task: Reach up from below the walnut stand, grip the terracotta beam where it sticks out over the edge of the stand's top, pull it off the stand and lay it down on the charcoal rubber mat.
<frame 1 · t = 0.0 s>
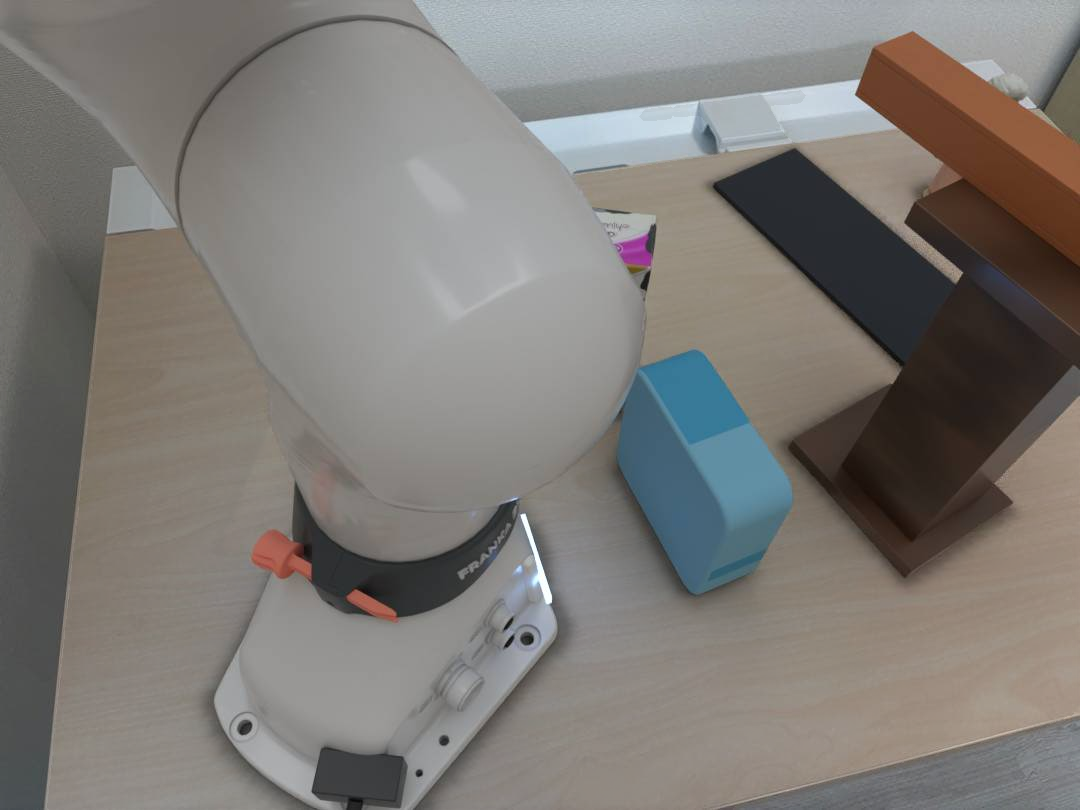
mat: (848, 254, 74), on the table
stand: (894, 478, 61), on the table
grandmother figurine: (947, 198, 78), on the table
terracotta beam: (1011, 190, 43), point 24 cm above the table, touching stand
candy bar box: (555, 384, 65), on the table
blue rounded case: (679, 517, 59), on the table
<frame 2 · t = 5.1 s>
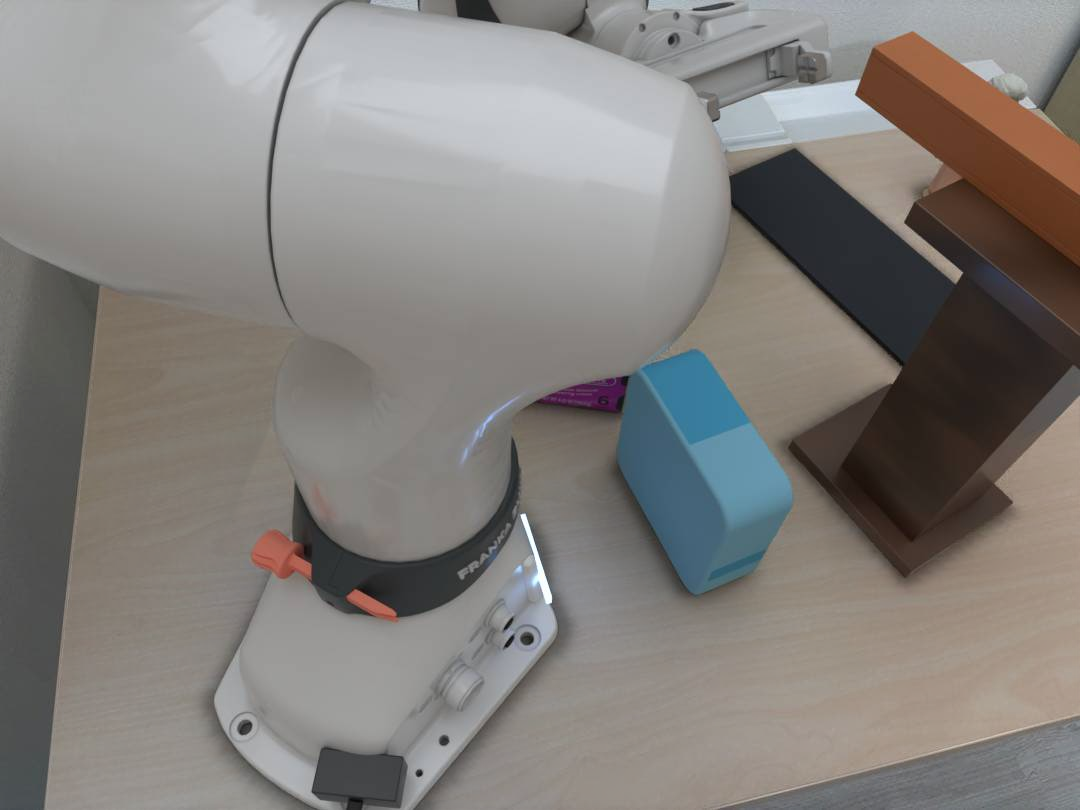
hand: (768, 89, 55), 19 cm above the table, tool pointing upward, fingers open, 8 cm apart
nothing on the table moved.
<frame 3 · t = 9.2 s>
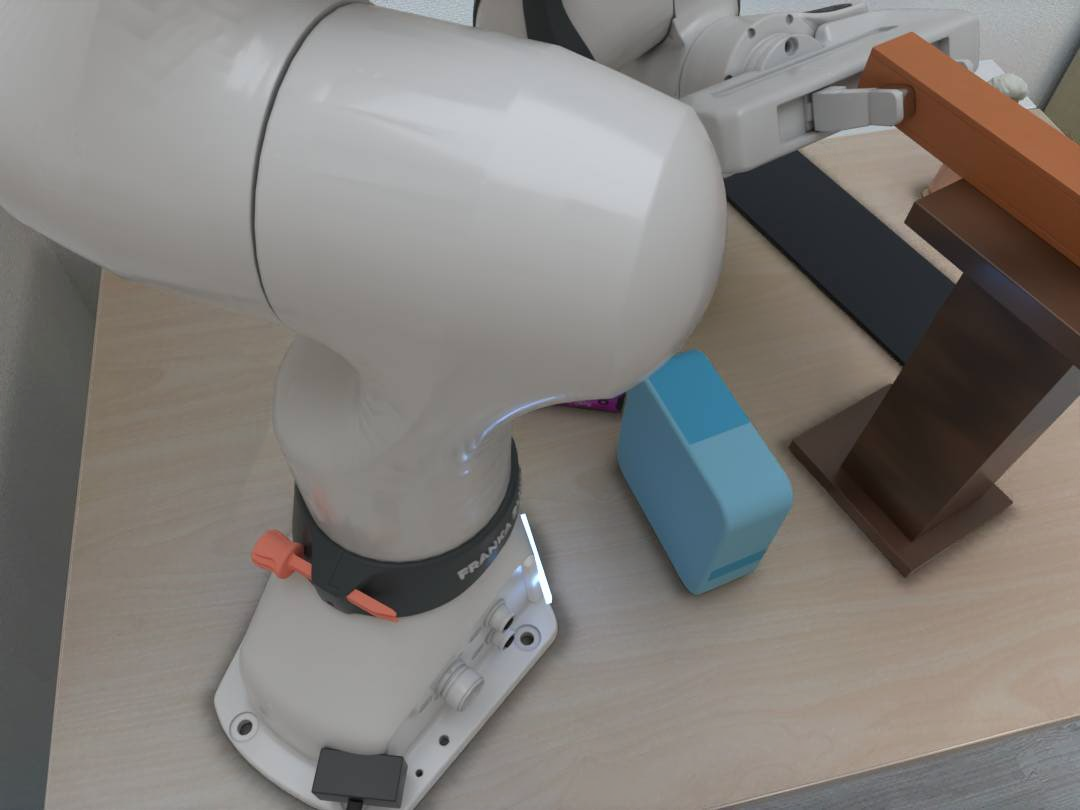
hand: (936, 92, 44), 26 cm above the table, tool pointing upward, fingers closed on terracotta beam, 3 cm apart
terracotta beam: (1011, 190, 43), point 24 cm above the table, touching gripper, stand
everything else where it was.
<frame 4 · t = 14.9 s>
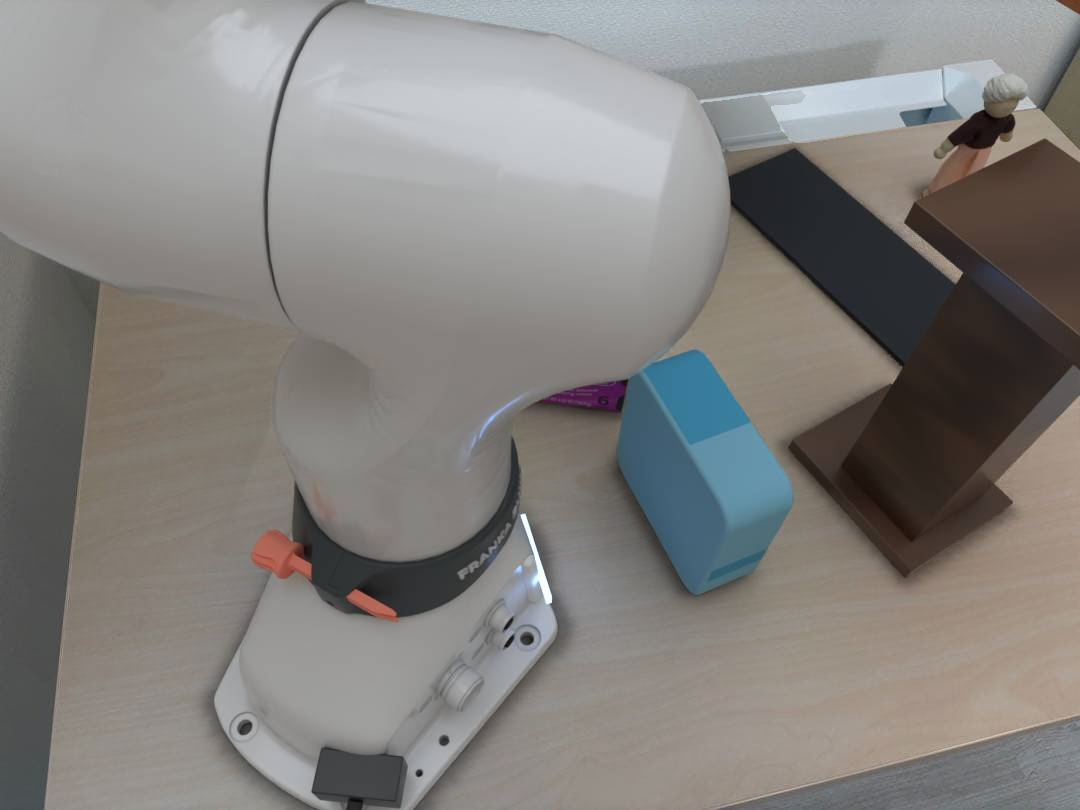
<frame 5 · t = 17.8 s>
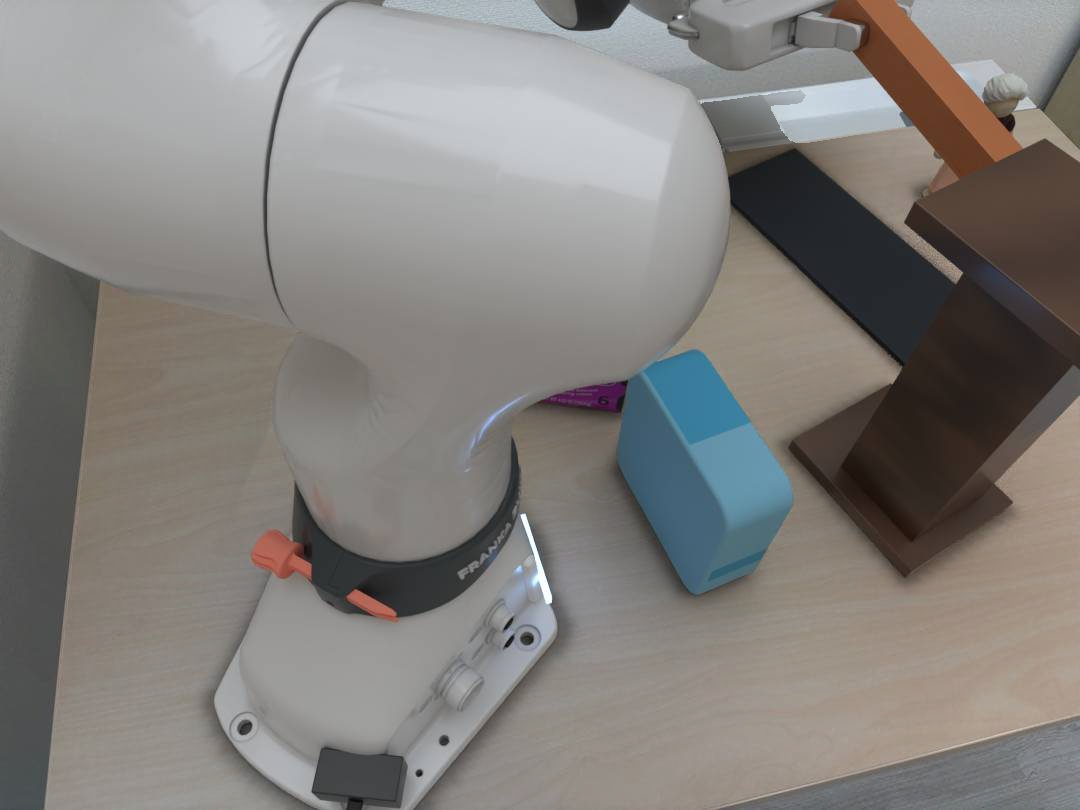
hand: (884, 30, 62), 18 cm above the table, tool pointing upward, fingers closed on terracotta beam, 3 cm apart
terracotta beam: (920, 110, 62), point 14 cm above the table, tilted 15°, touching gripper
everything else where it was.
when the fingers open (5 cm above the table, at t = 20.4 s): terracotta beam drops 2 cm, resting on mat.
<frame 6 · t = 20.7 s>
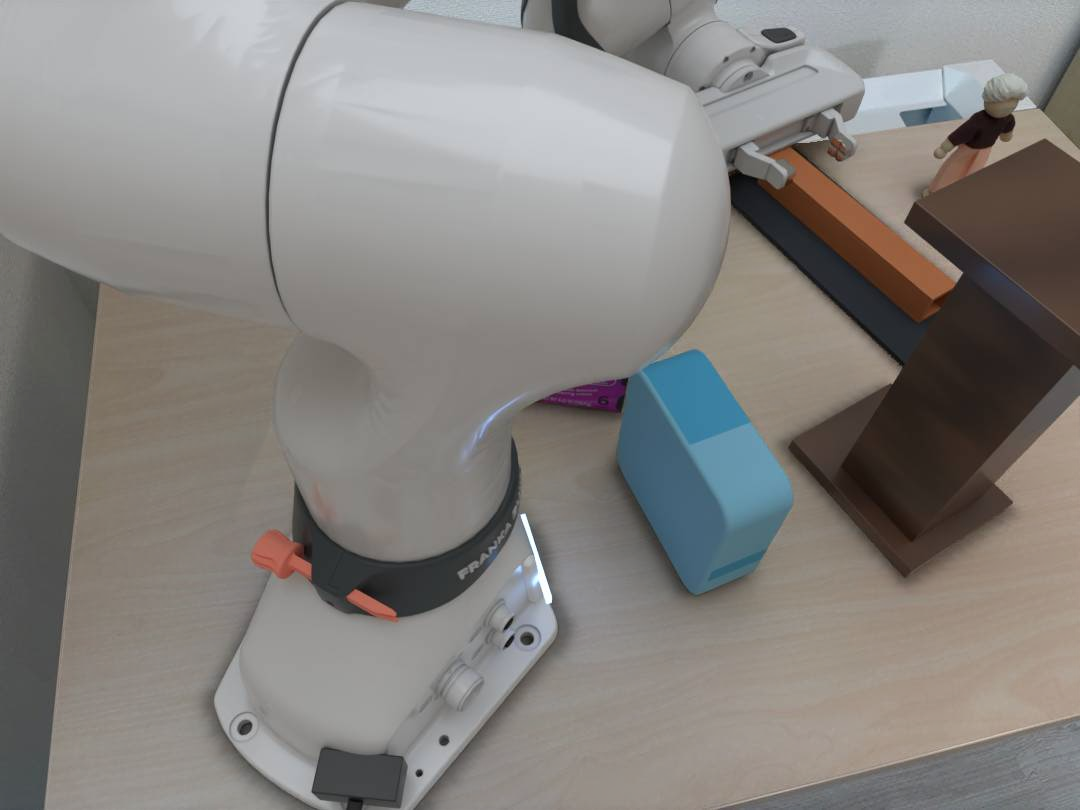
hand: (819, 166, 72), 5 cm above the table, tool horizontal, fingers open, 6 cm apart
terracotta beam: (844, 242, 74), resting on mat
everything else where it was.
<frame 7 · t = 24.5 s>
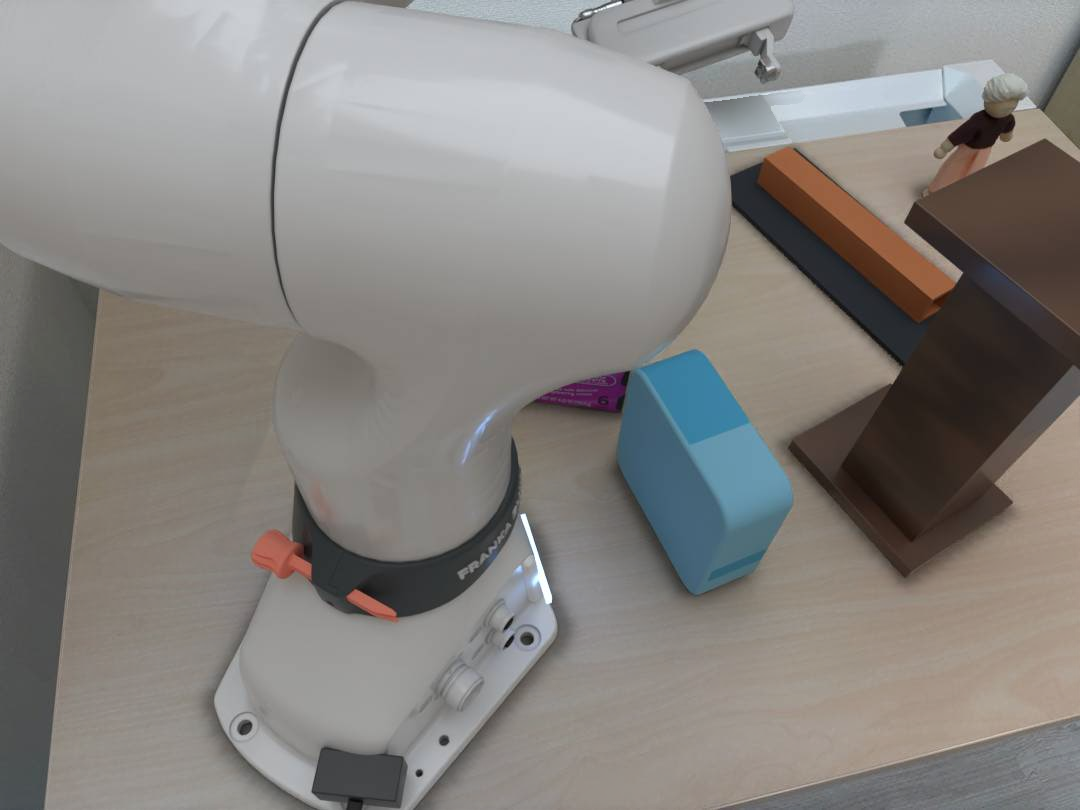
hand: (729, 93, 77), 6 cm above the table, tool horizontal, fingers open, 8 cm apart
nothing on the table moved.
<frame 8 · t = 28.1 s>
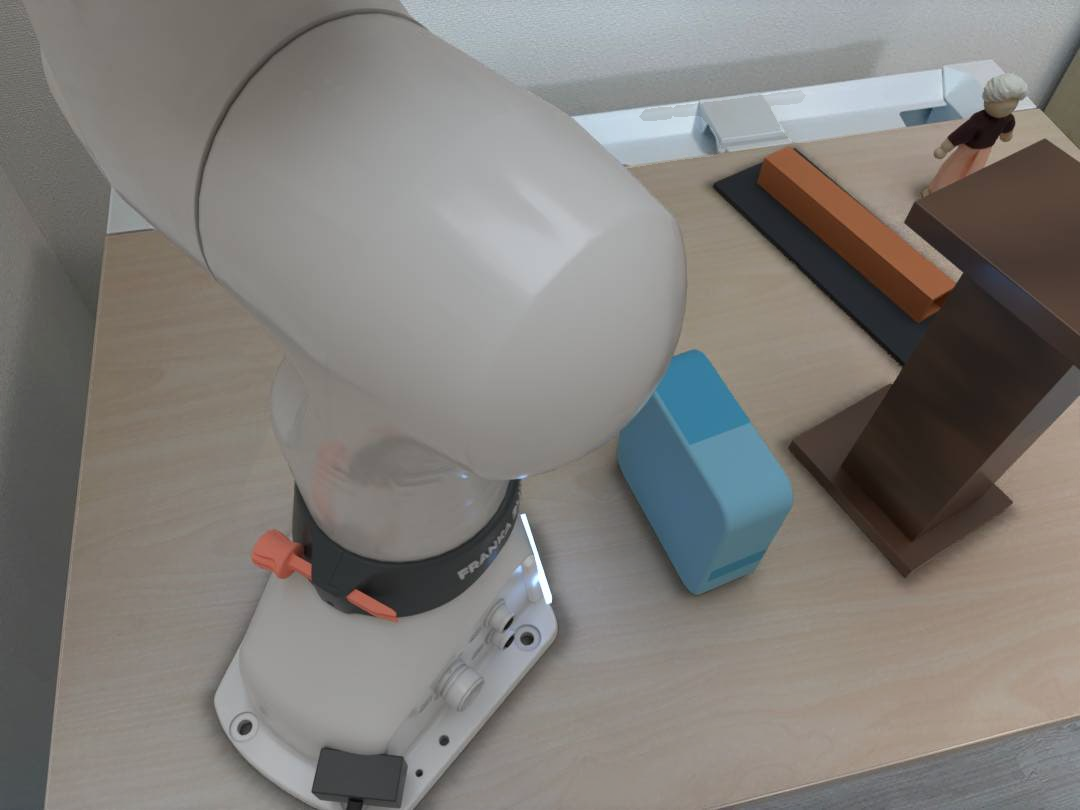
nothing on the table moved.
at the end: terracotta beam inside the target area on the mat (1.0 cm from its centre), point 0.5 cm above the mat's base; the gripper is holding nothing; terracotta beam touching mat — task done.
